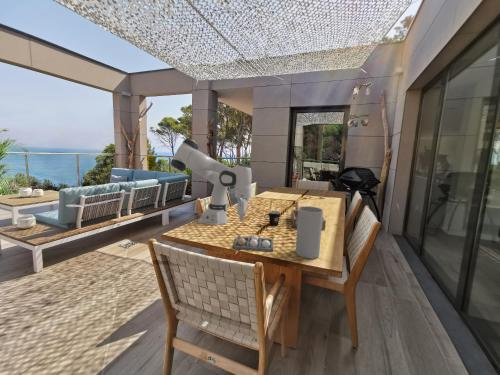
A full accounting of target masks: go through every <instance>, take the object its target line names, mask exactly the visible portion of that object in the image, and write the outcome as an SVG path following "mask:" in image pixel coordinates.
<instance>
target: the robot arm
mask: <svg viewBox="0 0 500 375" xmlns="http://www.w3.org/2000/svg"><path fill="white" fill-rule="evenodd" d="M170 166H171V167H172V168H173V169H174V170H175V171H177V172H182V173H183V172H185V171H186V170H187V169H189V170H191V171H192V172H194V173H195V174H197V175H199V176H201V177H202V178H204V180H206V181H208V182H210V184H212V185H213V189H212V192H211V198H210V200H211V202H210V203H209V204H208V208H206V210H204V211H203V212H202V214H201V215H200V218H198V220H197V223H198V224H202V225H204V224H205V225H210V226H219V225H223V224H227V223H228V222H229V221H228V217H227V210H228V209H227V206H228V205H227V193H228V192H227V191H228V188H229V187H234V197H235V198H236V199H237V203H236V205H237V206H236V207H237V208H236V214H237V215H239V216H238V218H239V221H240V222H243V221H244V217H246V211H247V208H248V206H249V199H250V198H251V197H252V186H251V185H252V177H253V176H252V168H251V166H250V165H248V164H244V163H237V164H236V165H235V166H232V167H231V166H230V165H229V166H228V165H227V164H225V163H222V162H220V161H218V160H217V159H214V158H212V157H211V156H209V155H207V154H206V153H204V152H202V151H200V150H199V144H198V143H197V142H196V141H195V140H193V139H190V138H185V139H183V141H182V143H181V144H180V145H179V147H178V149H176V152H175V154H174V155H173V157H172V158H171V161H170Z"/></svg>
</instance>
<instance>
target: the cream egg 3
mask: <svg viewBox="0 0 500 375" xmlns="http://www.w3.org/2000/svg"><path fill="white" fill-rule="evenodd" d="M262 246H263V247H264V248H269V246H270V242H269V241H268V240H264V241H263V242H262Z"/></svg>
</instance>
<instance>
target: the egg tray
mask: <svg viewBox="0 0 500 375" xmlns="http://www.w3.org/2000/svg"><path fill="white" fill-rule="evenodd" d="M239 238H244V239H245V241H246V242H245V245H243V246H240V245H238V239H239ZM264 240H268V241H269V242H270V246H269V248H264V247H263V246H262V242H263V241H264ZM250 241H251V237H249V236H248V237H247V236H236V238H235V240H234V244H233V245H232V249H233V250H246V251H260V252H274V238H264V237H258V241H257V242H258V245H257V246H256V247H251V246H250Z"/></svg>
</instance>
